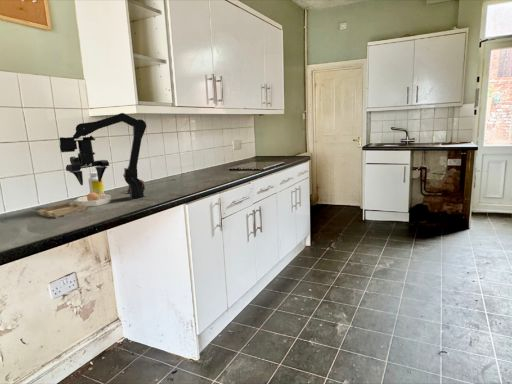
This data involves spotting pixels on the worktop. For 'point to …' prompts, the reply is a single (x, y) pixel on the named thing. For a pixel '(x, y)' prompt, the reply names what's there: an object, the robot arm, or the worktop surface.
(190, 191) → the worktop surface
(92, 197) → the ball
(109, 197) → the bowl
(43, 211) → the tray
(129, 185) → the pottery mug
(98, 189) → the supplement bottle
